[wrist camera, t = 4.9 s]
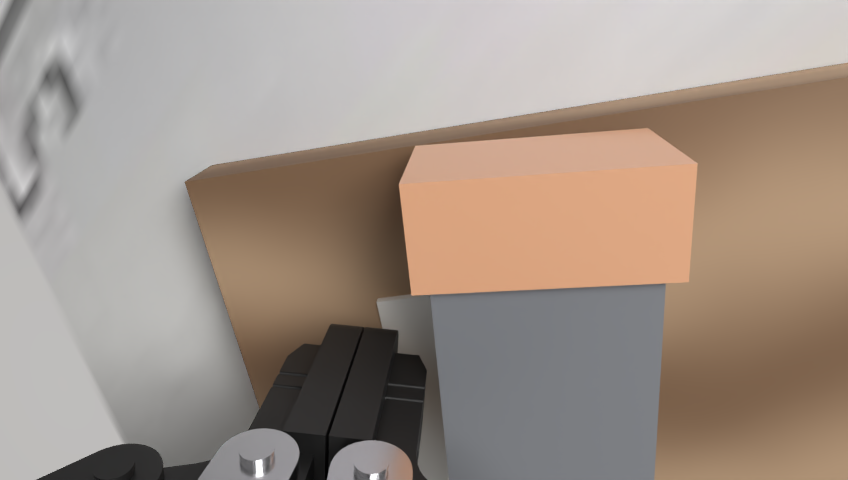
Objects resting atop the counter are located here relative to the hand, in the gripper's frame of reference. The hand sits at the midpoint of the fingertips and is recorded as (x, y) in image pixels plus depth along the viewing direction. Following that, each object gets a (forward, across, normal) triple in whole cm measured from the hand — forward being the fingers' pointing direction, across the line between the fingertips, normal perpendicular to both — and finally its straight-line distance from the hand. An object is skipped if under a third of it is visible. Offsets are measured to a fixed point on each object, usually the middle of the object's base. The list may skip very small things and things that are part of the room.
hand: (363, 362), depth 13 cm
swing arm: (+1, -5, +7) cm, 8 cm away
